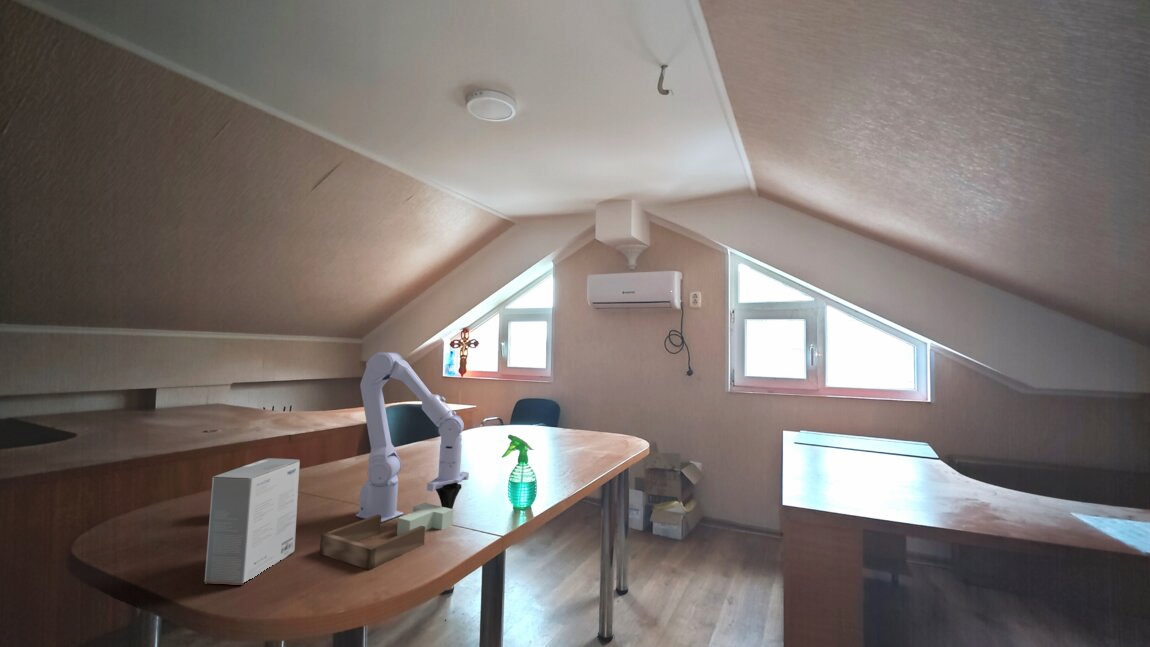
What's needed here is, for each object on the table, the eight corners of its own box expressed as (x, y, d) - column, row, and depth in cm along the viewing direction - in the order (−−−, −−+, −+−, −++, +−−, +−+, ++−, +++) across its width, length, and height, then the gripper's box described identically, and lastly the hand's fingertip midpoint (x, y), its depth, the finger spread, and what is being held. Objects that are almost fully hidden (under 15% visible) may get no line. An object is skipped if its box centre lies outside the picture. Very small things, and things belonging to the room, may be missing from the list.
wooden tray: (319, 553, 100) (320, 534, 100) (376, 531, 114) (377, 514, 114) (369, 570, 93) (370, 549, 94) (424, 544, 107) (425, 526, 107)
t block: (387, 532, 113) (389, 515, 114) (423, 517, 124) (424, 502, 125) (418, 540, 109) (419, 523, 109) (452, 525, 120) (453, 509, 120)
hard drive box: (261, 550, 101) (269, 457, 102) (295, 552, 100) (302, 459, 102) (201, 585, 85) (211, 475, 87) (241, 587, 85) (251, 477, 86)
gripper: (443, 468, 118) (439, 522, 117) (478, 458, 131) (475, 507, 130) (422, 464, 121) (418, 517, 120) (458, 455, 134) (455, 503, 133)
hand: (447, 512), depth 125 cm, fingers closed
